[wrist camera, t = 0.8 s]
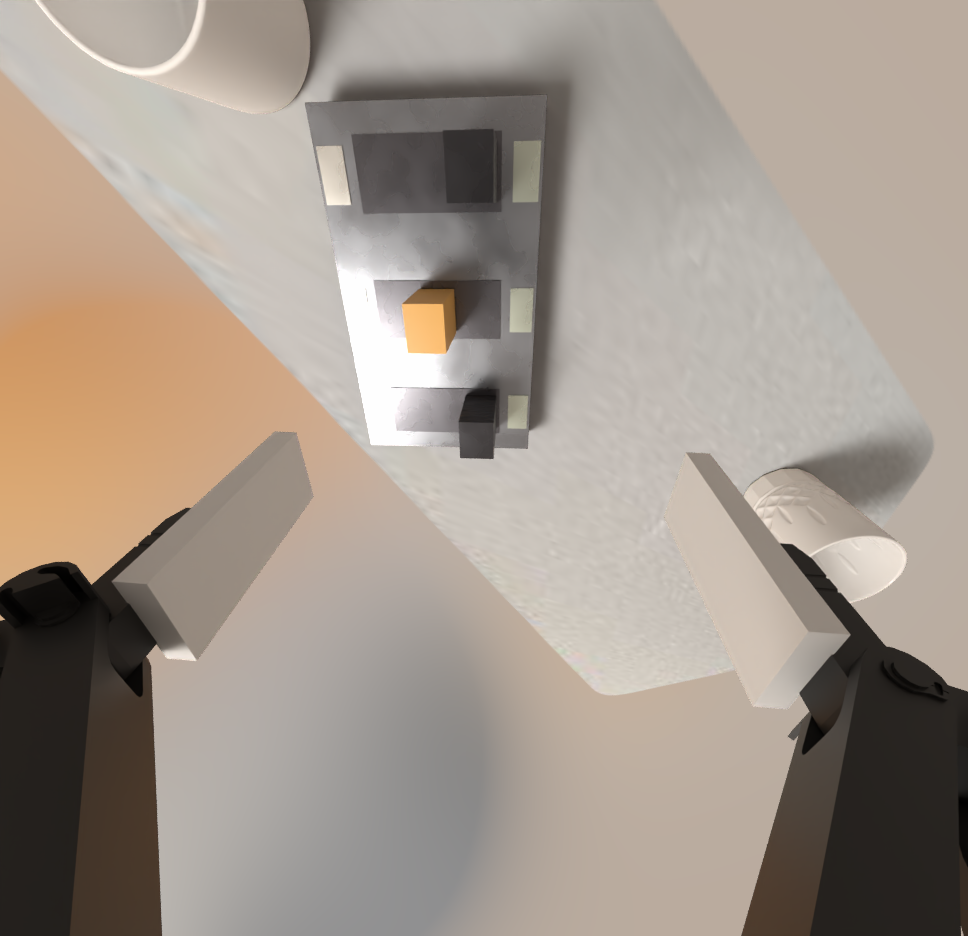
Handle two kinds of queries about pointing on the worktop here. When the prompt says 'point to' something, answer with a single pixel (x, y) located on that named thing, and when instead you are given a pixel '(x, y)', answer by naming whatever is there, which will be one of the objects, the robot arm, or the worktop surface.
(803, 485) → the white cup
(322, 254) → the worktop surface
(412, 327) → the toggle
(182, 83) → the mug
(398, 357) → the panel
